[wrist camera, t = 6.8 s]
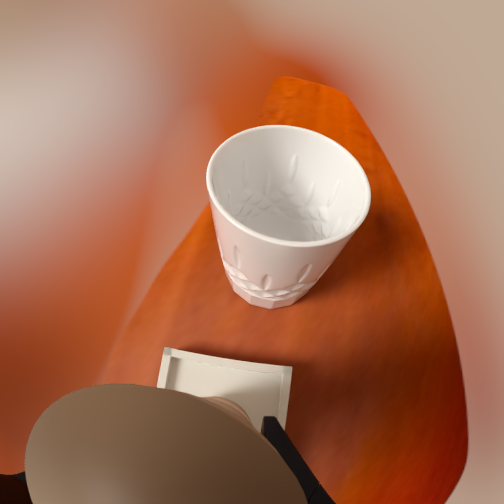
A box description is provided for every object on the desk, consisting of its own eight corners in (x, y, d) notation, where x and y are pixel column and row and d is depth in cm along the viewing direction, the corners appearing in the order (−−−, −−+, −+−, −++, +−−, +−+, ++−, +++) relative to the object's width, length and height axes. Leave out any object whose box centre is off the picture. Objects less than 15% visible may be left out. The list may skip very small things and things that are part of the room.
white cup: (221, 222, 23) (215, 121, 14) (315, 226, 23) (351, 133, 15) (214, 315, 19) (195, 241, 11) (324, 317, 20) (388, 250, 11)
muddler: (263, 457, 13) (328, 591, 1) (184, 467, 12) (74, 584, 1) (247, 387, 15) (275, 363, 4) (170, 397, 14) (8, 379, 3)
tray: (270, 489, 13) (273, 497, 12) (152, 469, 13) (144, 475, 12) (287, 369, 18) (292, 366, 16) (170, 351, 18) (164, 346, 16)
